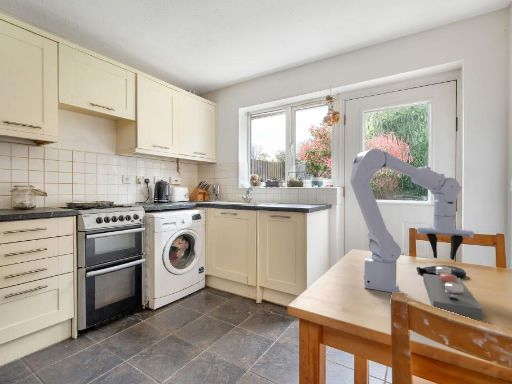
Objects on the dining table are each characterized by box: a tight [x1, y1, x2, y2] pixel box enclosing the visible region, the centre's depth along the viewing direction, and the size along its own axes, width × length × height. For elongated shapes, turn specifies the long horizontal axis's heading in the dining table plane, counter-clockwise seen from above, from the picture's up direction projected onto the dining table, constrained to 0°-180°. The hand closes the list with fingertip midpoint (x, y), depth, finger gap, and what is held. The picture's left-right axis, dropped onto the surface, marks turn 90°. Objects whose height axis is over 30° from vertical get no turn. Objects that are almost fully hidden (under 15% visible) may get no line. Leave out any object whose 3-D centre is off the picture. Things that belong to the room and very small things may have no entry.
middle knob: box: [440, 273, 457, 284], centre depth 78 cm, size 4×4×4 cm
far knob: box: [435, 265, 451, 275], centre depth 85 cm, size 4×4×4 cm
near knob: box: [445, 282, 464, 301], centre depth 71 cm, size 4×4×4 cm
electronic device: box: [416, 264, 467, 279], centre depth 97 cm, size 9×6×15 cm
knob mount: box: [422, 273, 483, 320], centre depth 78 cm, size 10×24×2 cm, turn 153°
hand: (443, 258), depth 85 cm, fingers open, 4 cm apart
